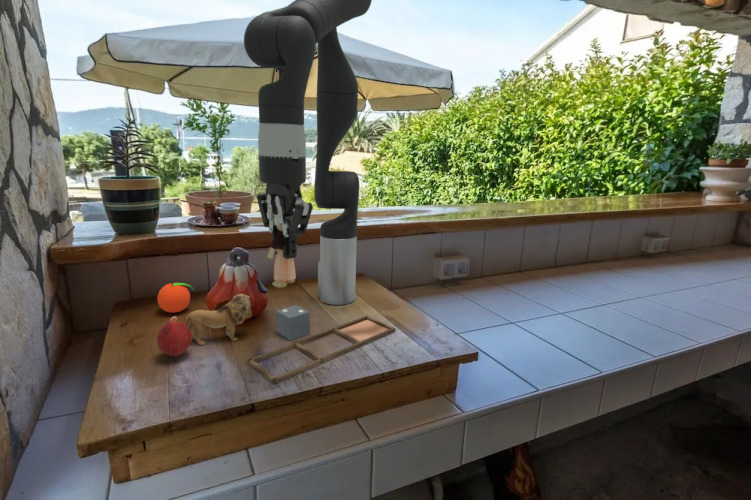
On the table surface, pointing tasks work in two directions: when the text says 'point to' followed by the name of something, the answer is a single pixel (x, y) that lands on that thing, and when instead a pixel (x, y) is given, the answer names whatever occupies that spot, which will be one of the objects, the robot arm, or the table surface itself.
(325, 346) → the table surface
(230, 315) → the lion figurine
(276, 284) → the grandmother figurine
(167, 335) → the red oval fruit
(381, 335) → the board
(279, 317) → the die
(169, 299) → the clementine
